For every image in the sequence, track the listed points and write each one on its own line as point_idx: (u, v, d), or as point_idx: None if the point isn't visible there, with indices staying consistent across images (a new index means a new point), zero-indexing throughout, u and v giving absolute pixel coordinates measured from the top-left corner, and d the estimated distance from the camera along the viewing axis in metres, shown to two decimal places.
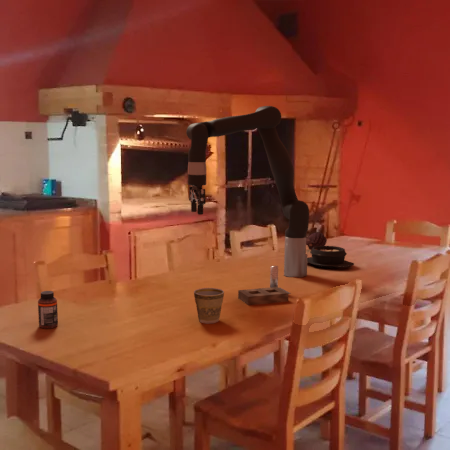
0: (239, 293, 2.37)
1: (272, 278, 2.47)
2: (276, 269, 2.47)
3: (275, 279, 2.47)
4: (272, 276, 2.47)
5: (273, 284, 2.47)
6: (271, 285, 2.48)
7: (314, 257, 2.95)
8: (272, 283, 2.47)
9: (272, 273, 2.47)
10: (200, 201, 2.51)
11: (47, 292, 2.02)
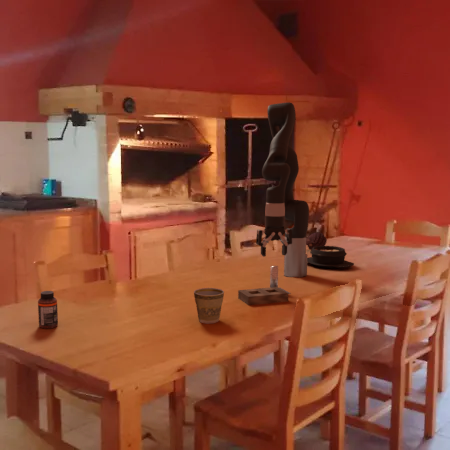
0: (239, 293, 2.37)
1: (272, 278, 2.47)
2: (276, 269, 2.47)
3: (275, 279, 2.47)
4: (272, 276, 2.47)
5: (273, 284, 2.47)
6: (271, 285, 2.48)
7: (314, 257, 2.95)
8: (272, 283, 2.47)
9: (272, 273, 2.47)
10: (291, 241, 2.48)
11: (47, 292, 2.02)
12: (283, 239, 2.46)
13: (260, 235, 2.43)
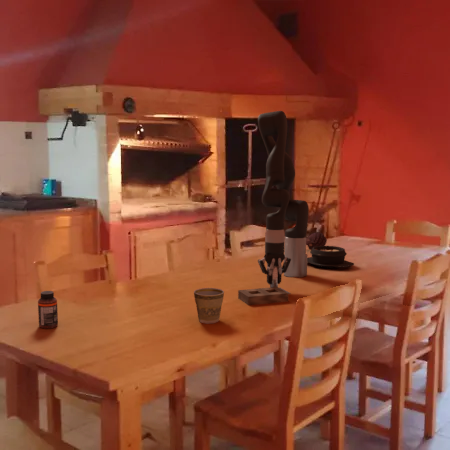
0: (239, 293, 2.37)
1: (272, 278, 2.47)
2: (276, 269, 2.47)
3: (275, 279, 2.47)
4: (272, 276, 2.47)
5: (273, 284, 2.47)
6: (271, 285, 2.48)
7: (314, 257, 2.95)
8: (272, 283, 2.47)
9: (272, 273, 2.47)
10: None
11: (47, 292, 2.02)
12: (280, 266, 2.47)
13: (262, 265, 2.45)
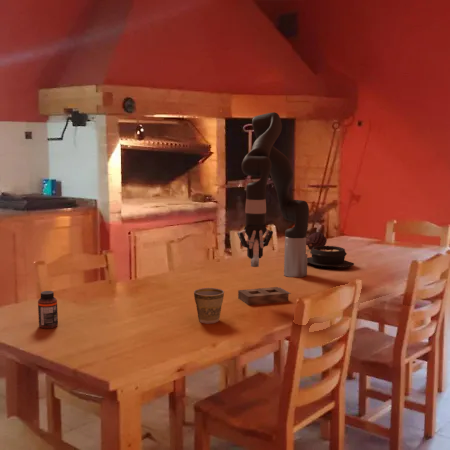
0: (239, 293, 2.37)
1: (253, 252, 2.32)
2: (257, 242, 2.31)
3: (256, 253, 2.32)
4: (253, 249, 2.32)
5: (253, 258, 2.32)
6: (252, 259, 2.32)
7: (314, 257, 2.95)
8: (253, 257, 2.32)
9: (253, 246, 2.31)
10: None
11: (47, 292, 2.02)
12: (261, 239, 2.31)
13: (242, 237, 2.29)
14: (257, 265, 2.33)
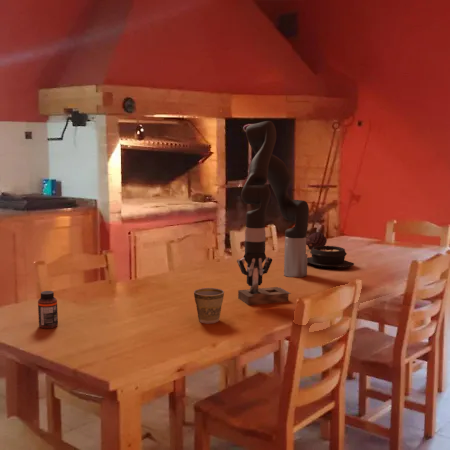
0: (239, 293, 2.37)
1: (252, 279, 2.33)
2: (256, 270, 2.33)
3: (255, 280, 2.33)
4: (252, 277, 2.33)
5: (253, 285, 2.33)
6: (251, 286, 2.34)
7: (314, 257, 2.95)
8: (252, 284, 2.33)
9: (252, 274, 2.33)
10: None
11: (47, 292, 2.02)
12: (260, 267, 2.33)
13: (242, 265, 2.31)
14: (256, 292, 2.34)
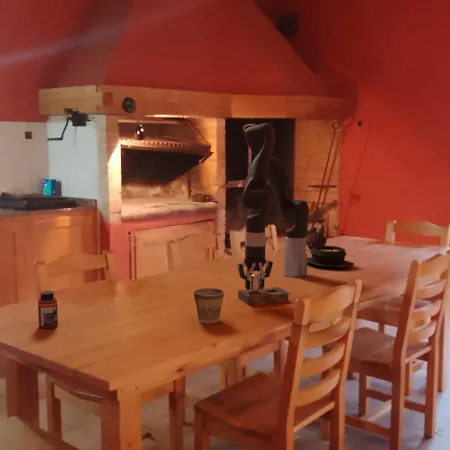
0: (239, 293, 2.37)
1: (252, 288, 2.34)
2: (257, 278, 2.33)
3: (256, 289, 2.34)
4: (252, 285, 2.34)
5: None
6: None
7: (314, 257, 2.95)
8: (253, 293, 2.34)
9: (252, 282, 2.33)
10: None
11: (47, 292, 2.02)
12: (262, 271, 2.33)
13: (241, 269, 2.31)
14: None
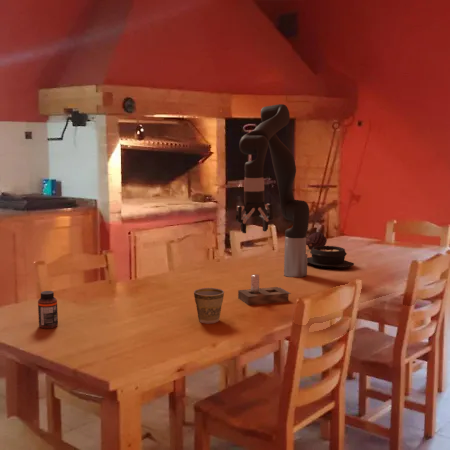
0: (239, 293, 2.37)
1: (253, 288, 2.34)
2: (257, 278, 2.33)
3: (256, 289, 2.34)
4: (253, 285, 2.34)
5: None
6: None
7: (314, 257, 2.95)
8: (253, 293, 2.34)
9: (253, 282, 2.33)
10: None
11: (47, 292, 2.02)
12: (263, 215, 2.38)
13: (240, 211, 2.35)
14: None
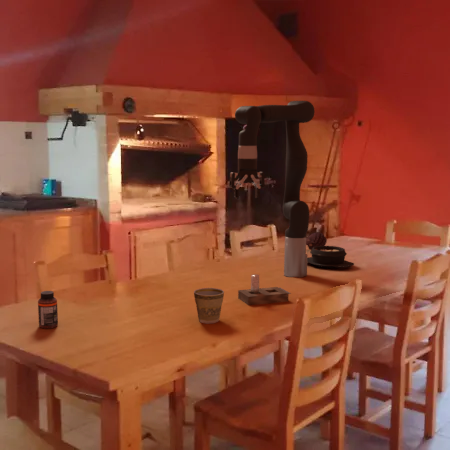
0: (239, 293, 2.37)
1: (253, 288, 2.34)
2: (257, 278, 2.33)
3: (256, 289, 2.34)
4: (253, 285, 2.34)
5: None
6: None
7: (314, 257, 2.95)
8: (253, 293, 2.34)
9: (253, 282, 2.33)
10: None
11: (47, 292, 2.02)
12: (256, 182, 2.51)
13: (233, 177, 2.48)
14: None
